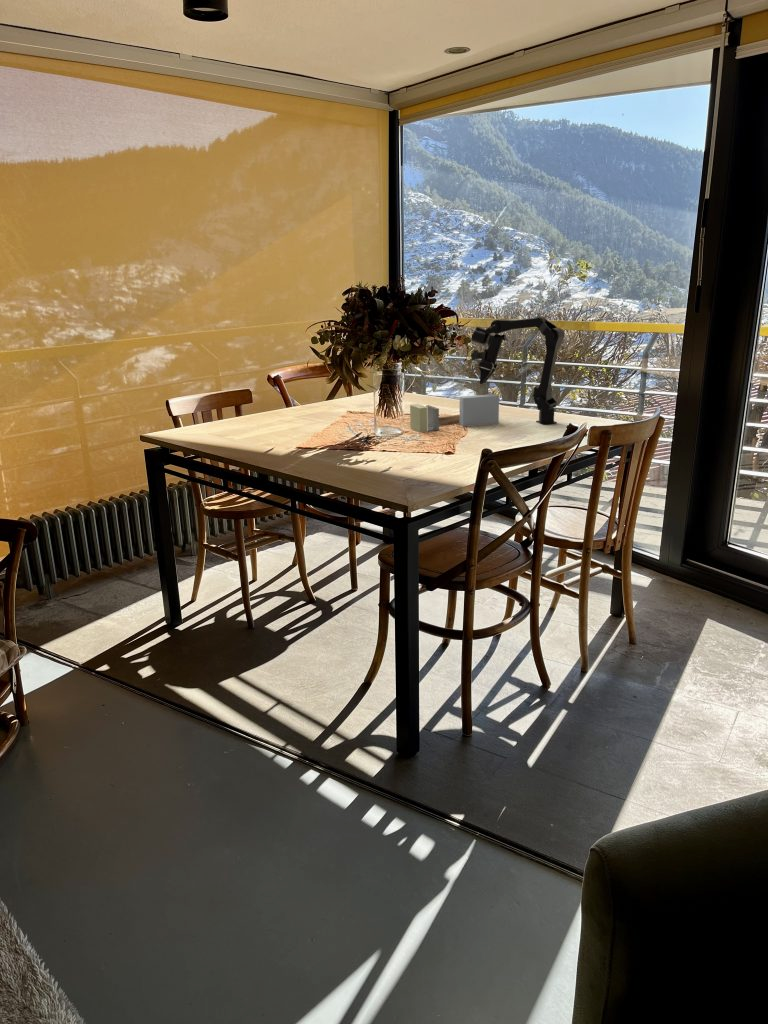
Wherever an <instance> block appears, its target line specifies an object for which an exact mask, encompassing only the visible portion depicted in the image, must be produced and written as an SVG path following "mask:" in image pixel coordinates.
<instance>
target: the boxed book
mask: <svg viewBox="0 0 768 1024" xmlns="http://www.w3.org/2000/svg"><path fill="white" fill-rule="evenodd" d="M499 414H500V396H499V394H496V393H494V394H493V393H491V394H490V393H489V394H479V395H478V394H477V395H475V394H474V395H462V396H459V415H460V421H459V423H458V425H460V426H461V427H472V426H483V425H485V426H486V425H487V426H488V425H498V424H499V421H500V417H499V416H500V415H499Z"/></svg>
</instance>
